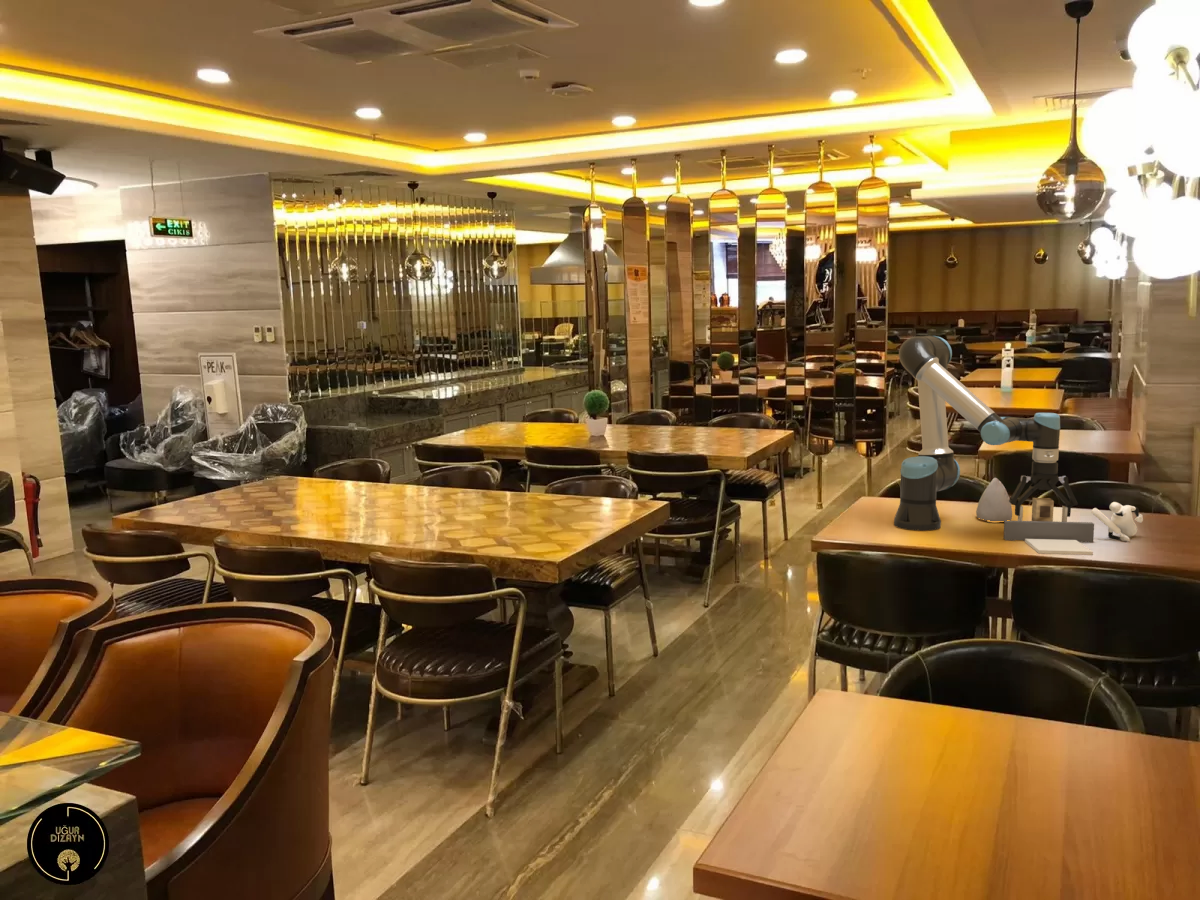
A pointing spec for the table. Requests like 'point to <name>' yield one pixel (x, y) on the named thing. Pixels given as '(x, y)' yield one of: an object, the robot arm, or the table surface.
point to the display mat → (1058, 546)
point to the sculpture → (994, 503)
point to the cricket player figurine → (1120, 520)
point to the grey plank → (1049, 530)
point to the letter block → (1042, 509)
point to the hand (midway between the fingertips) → (1041, 526)
